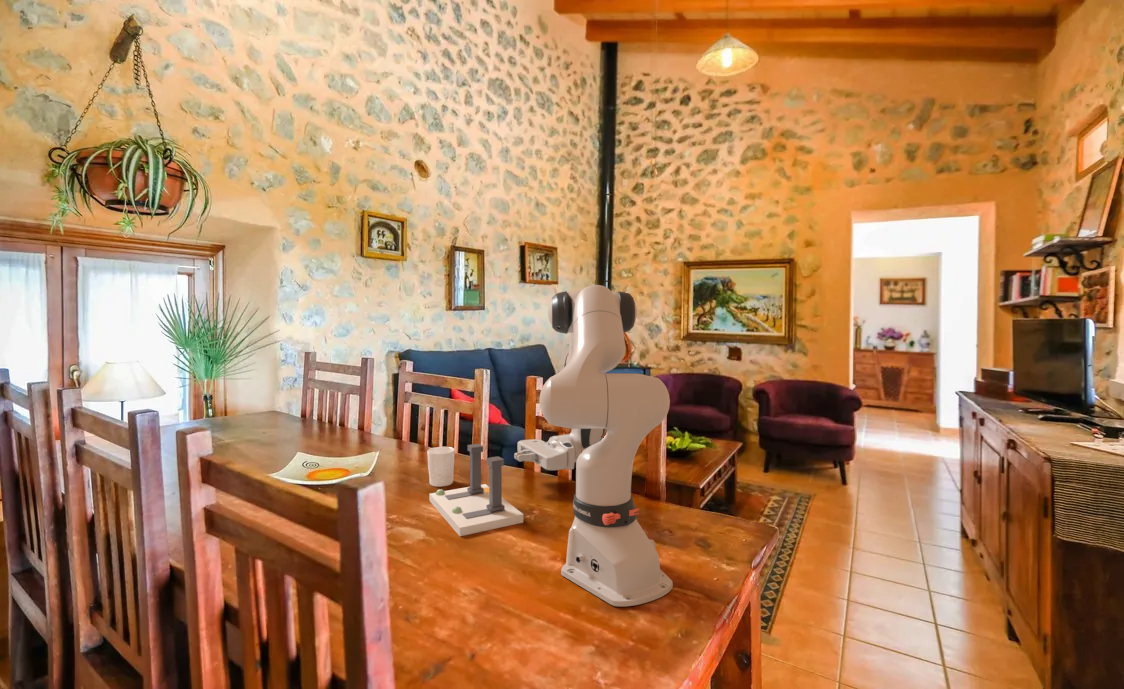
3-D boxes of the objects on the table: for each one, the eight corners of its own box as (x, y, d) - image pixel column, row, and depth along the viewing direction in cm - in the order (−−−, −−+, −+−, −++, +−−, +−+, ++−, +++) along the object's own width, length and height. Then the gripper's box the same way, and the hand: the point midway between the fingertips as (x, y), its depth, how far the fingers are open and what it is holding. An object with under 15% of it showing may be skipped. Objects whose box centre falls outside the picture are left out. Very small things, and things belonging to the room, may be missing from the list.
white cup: (451, 487, 149) (451, 453, 148) (424, 487, 149) (423, 453, 148) (457, 479, 156) (457, 446, 156) (431, 478, 157) (431, 446, 156)
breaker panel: (523, 522, 125) (523, 509, 124) (459, 536, 117) (459, 522, 116) (485, 490, 146) (485, 479, 146) (429, 500, 138) (429, 489, 138)
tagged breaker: (483, 491, 138) (483, 446, 138) (471, 494, 137) (470, 447, 136) (479, 488, 141) (479, 443, 140) (467, 490, 139) (466, 445, 139)
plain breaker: (504, 509, 126) (504, 459, 125) (491, 512, 125) (491, 461, 124) (499, 505, 129) (499, 456, 128) (486, 507, 127) (486, 458, 126)
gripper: (542, 432, 160) (501, 437, 154) (576, 448, 143) (532, 455, 136) (542, 452, 161) (501, 458, 154) (576, 470, 143) (532, 479, 136)
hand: (516, 457), depth 145 cm, fingers closed
